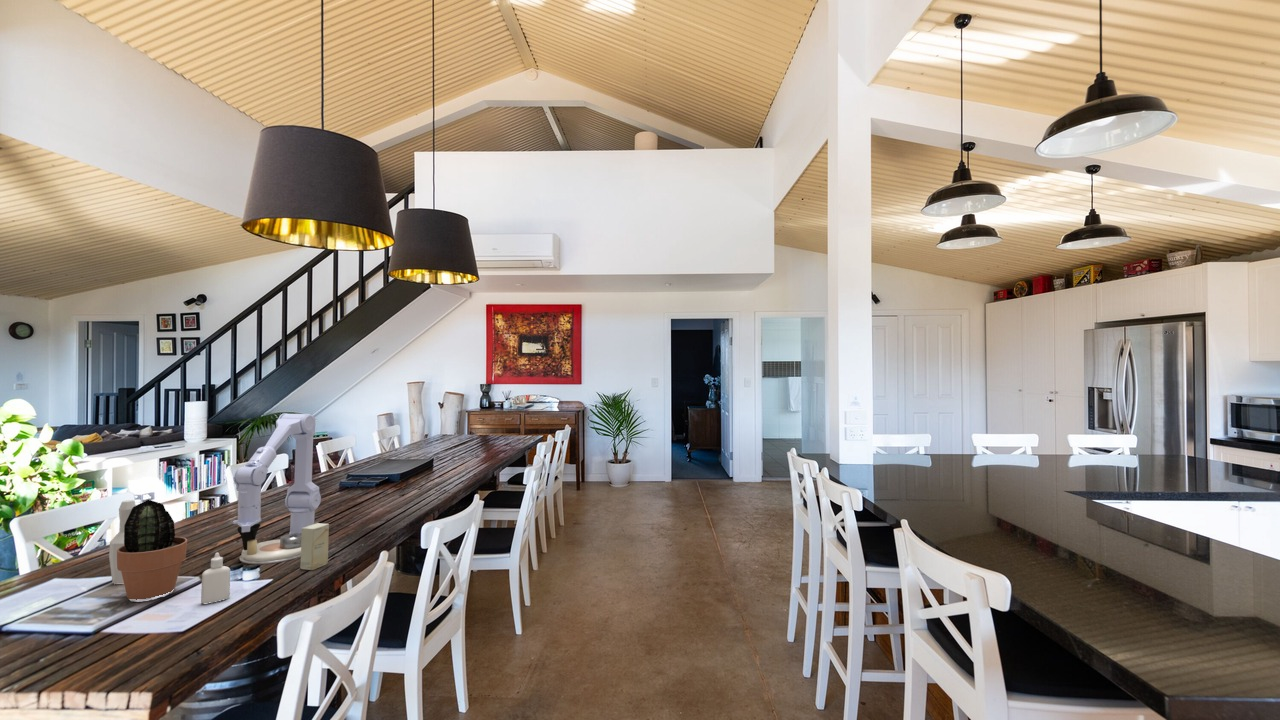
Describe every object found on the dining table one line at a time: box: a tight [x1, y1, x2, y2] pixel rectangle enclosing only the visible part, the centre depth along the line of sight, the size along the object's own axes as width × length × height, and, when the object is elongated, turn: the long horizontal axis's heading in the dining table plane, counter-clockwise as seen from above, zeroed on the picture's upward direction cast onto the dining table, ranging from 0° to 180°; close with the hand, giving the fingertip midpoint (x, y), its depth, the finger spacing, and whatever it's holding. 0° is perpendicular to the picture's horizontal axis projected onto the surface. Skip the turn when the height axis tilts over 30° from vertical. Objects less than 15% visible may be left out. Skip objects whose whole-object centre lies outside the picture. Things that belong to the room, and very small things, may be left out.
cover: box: [279, 533, 302, 549], centre depth 175 cm, size 7×7×3 cm
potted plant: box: [117, 499, 188, 600], centre depth 141 cm, size 14×14×25 cm
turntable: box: [241, 538, 301, 562], centre depth 174 cm, size 18×18×6 cm
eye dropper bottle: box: [200, 552, 231, 604], centre depth 138 cm, size 4×6×12 cm
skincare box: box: [299, 522, 330, 571], centre depth 163 cm, size 6×4×12 cm
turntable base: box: [238, 554, 301, 565], centre depth 174 cm, size 19×19×1 cm
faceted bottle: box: [108, 499, 137, 585], centre depth 150 cm, size 6×6×22 cm
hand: (248, 549), depth 168 cm, fingers closed, pressing on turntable
